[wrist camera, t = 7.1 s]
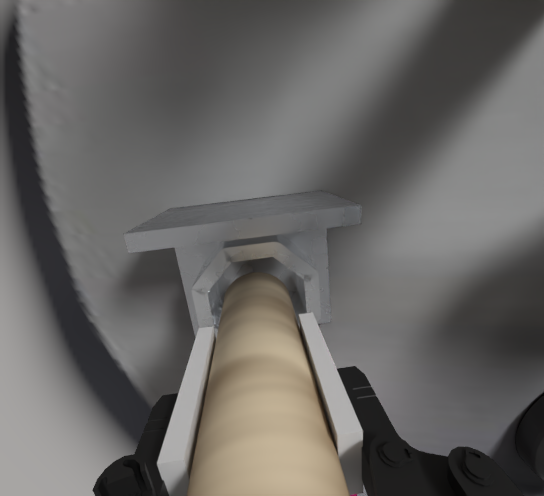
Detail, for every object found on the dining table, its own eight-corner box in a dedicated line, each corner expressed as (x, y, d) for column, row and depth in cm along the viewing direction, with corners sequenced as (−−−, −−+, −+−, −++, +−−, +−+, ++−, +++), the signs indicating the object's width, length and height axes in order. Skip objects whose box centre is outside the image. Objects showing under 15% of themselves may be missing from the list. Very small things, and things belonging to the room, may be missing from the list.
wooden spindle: (292, 326, 19) (469, 996, 4) (229, 335, 19) (141, 1079, 4) (287, 268, 18) (530, 952, 2) (218, 277, 17) (-6, 1087, 2)
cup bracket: (328, 316, 25) (362, 383, 17) (198, 334, 24) (174, 411, 17) (321, 190, 21) (361, 205, 14) (169, 208, 21) (122, 234, 13)
